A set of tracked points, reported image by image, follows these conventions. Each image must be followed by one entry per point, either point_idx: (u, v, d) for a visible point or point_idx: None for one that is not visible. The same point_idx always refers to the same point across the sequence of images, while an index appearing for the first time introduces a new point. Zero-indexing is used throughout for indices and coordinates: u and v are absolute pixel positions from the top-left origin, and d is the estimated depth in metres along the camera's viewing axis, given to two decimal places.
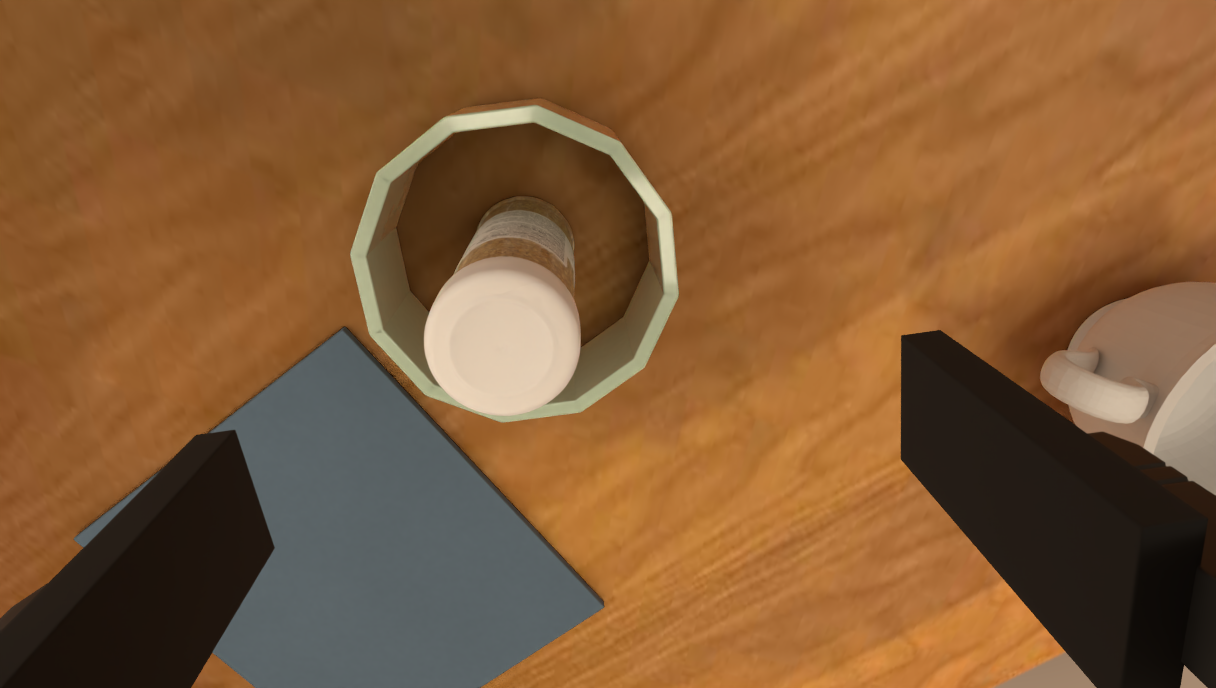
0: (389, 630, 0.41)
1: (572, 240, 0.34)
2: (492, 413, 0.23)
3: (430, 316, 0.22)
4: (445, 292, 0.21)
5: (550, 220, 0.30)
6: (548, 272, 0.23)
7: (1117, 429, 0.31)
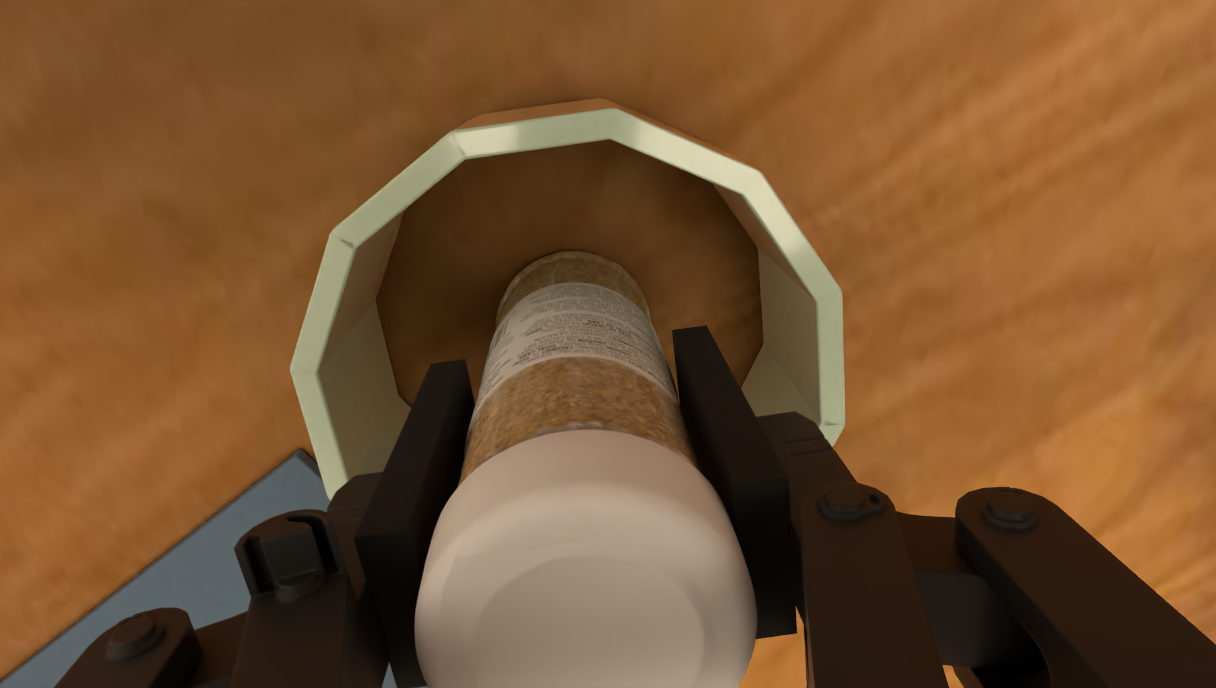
0: None
1: (649, 318, 0.22)
2: None
3: (428, 588, 0.09)
4: (462, 535, 0.09)
5: (625, 298, 0.18)
6: (680, 463, 0.11)
7: None
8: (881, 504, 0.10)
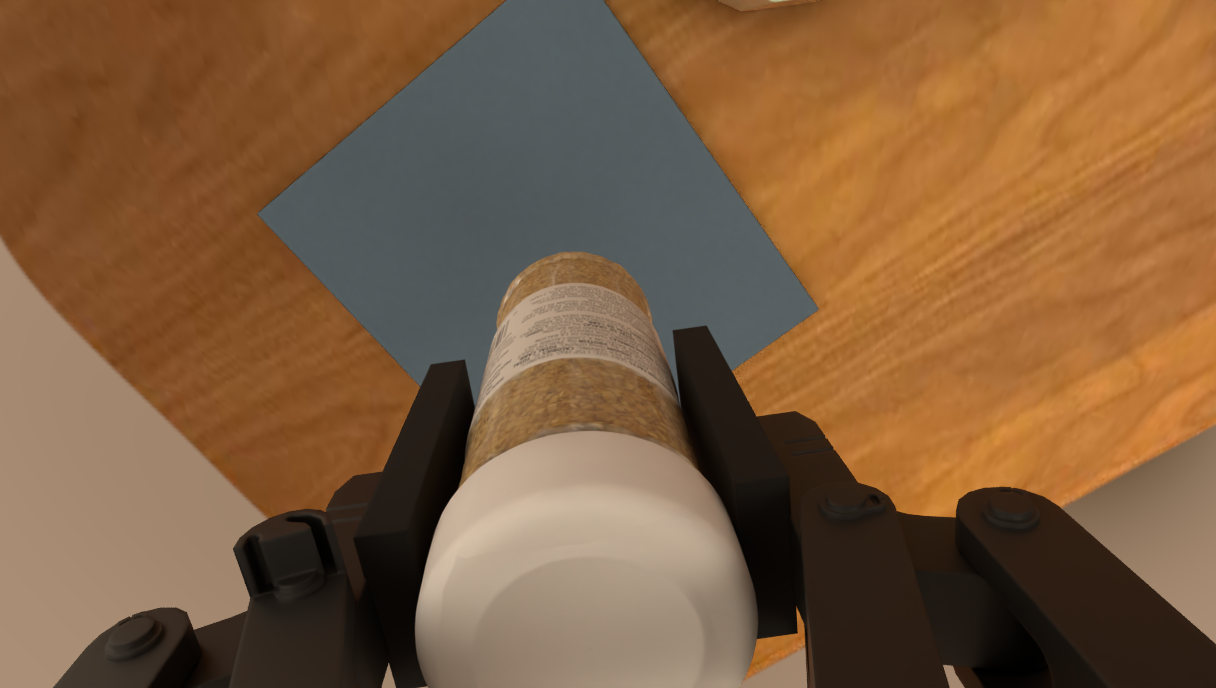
0: None
1: (650, 319, 0.22)
2: None
3: (428, 590, 0.09)
4: (463, 537, 0.09)
5: (626, 299, 0.18)
6: (680, 465, 0.11)
7: None
8: (882, 504, 0.10)
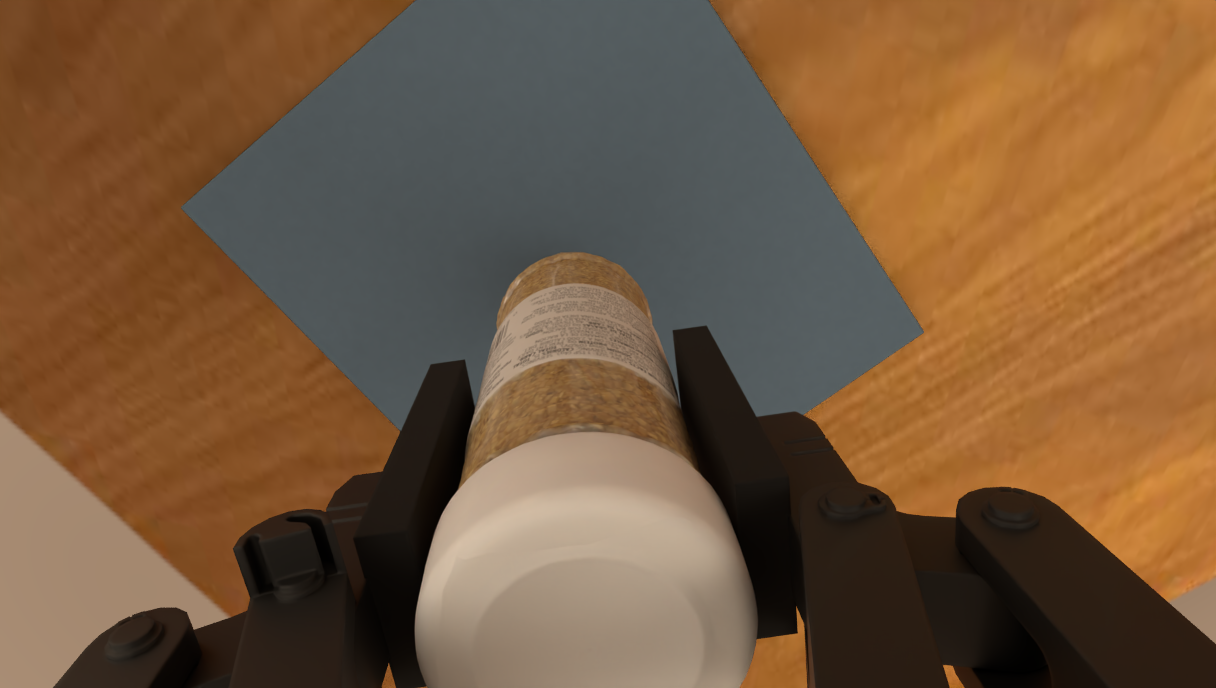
0: None
1: (650, 319, 0.22)
2: None
3: (428, 591, 0.09)
4: (462, 538, 0.09)
5: (626, 299, 0.18)
6: (680, 466, 0.11)
7: None
8: (882, 504, 0.10)
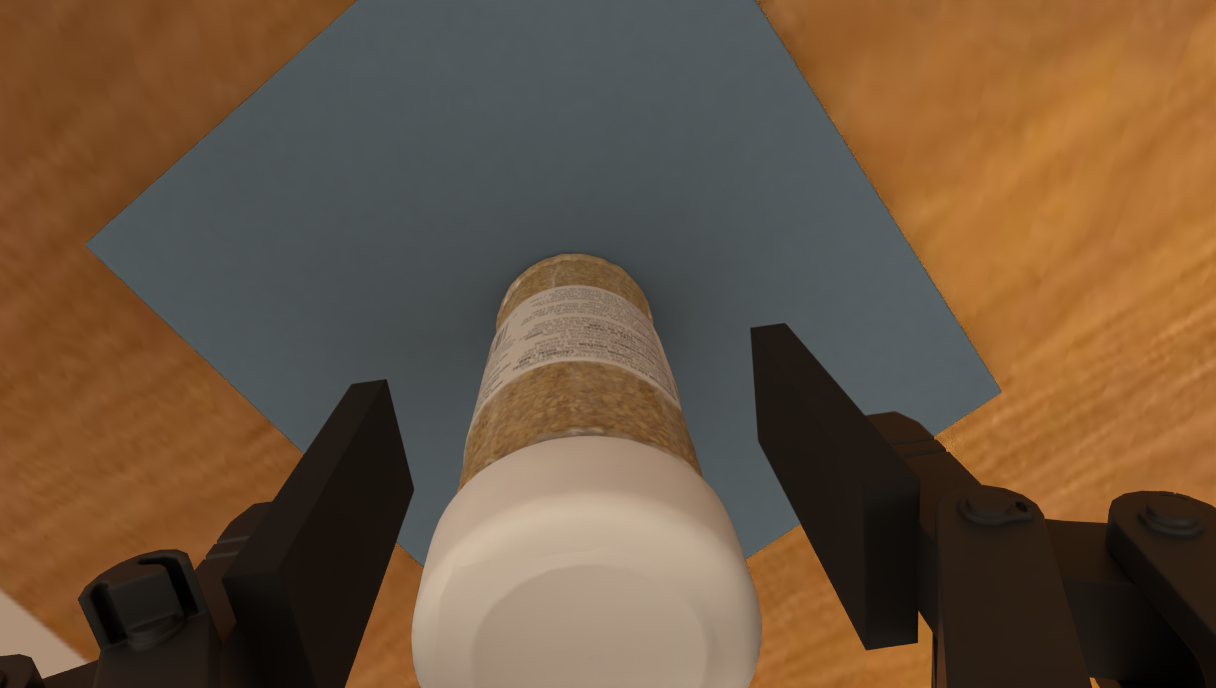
0: None
1: (650, 321, 0.21)
2: None
3: (425, 598, 0.09)
4: (460, 545, 0.09)
5: (627, 301, 0.18)
6: (682, 471, 0.10)
7: None
8: (1029, 512, 0.09)
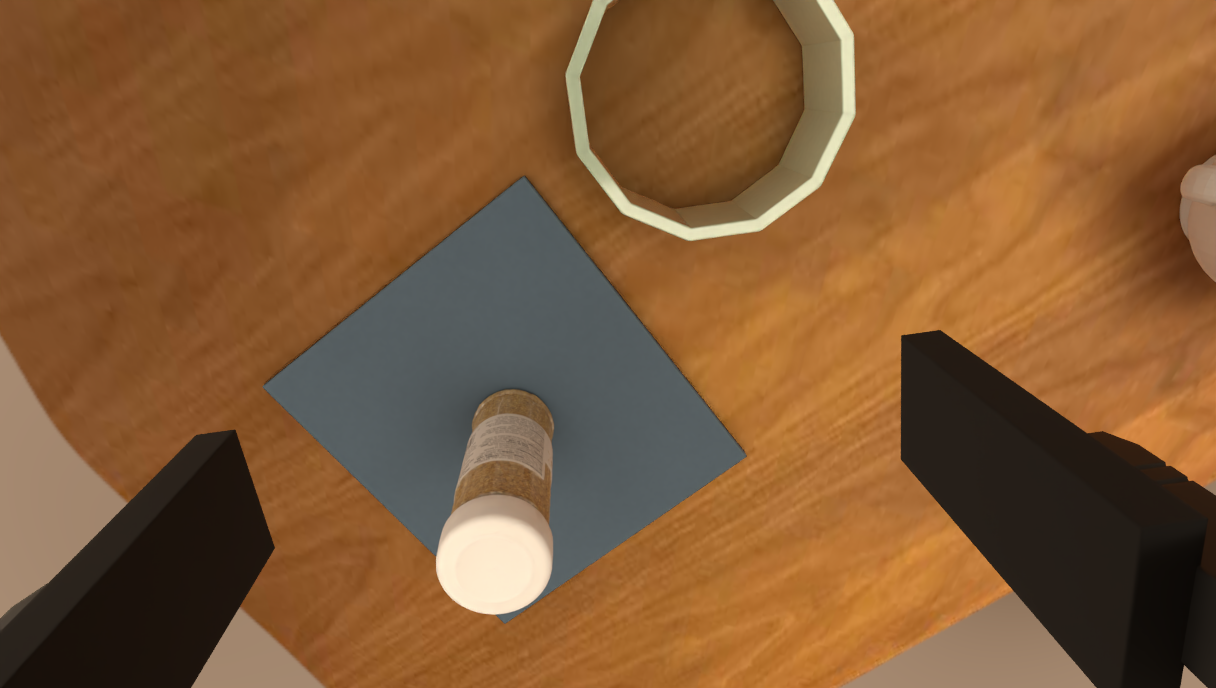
0: None
1: (552, 423, 0.42)
2: (487, 613, 0.30)
3: (440, 548, 0.29)
4: (451, 531, 0.29)
5: (532, 421, 0.38)
6: (528, 506, 0.30)
7: None
8: None
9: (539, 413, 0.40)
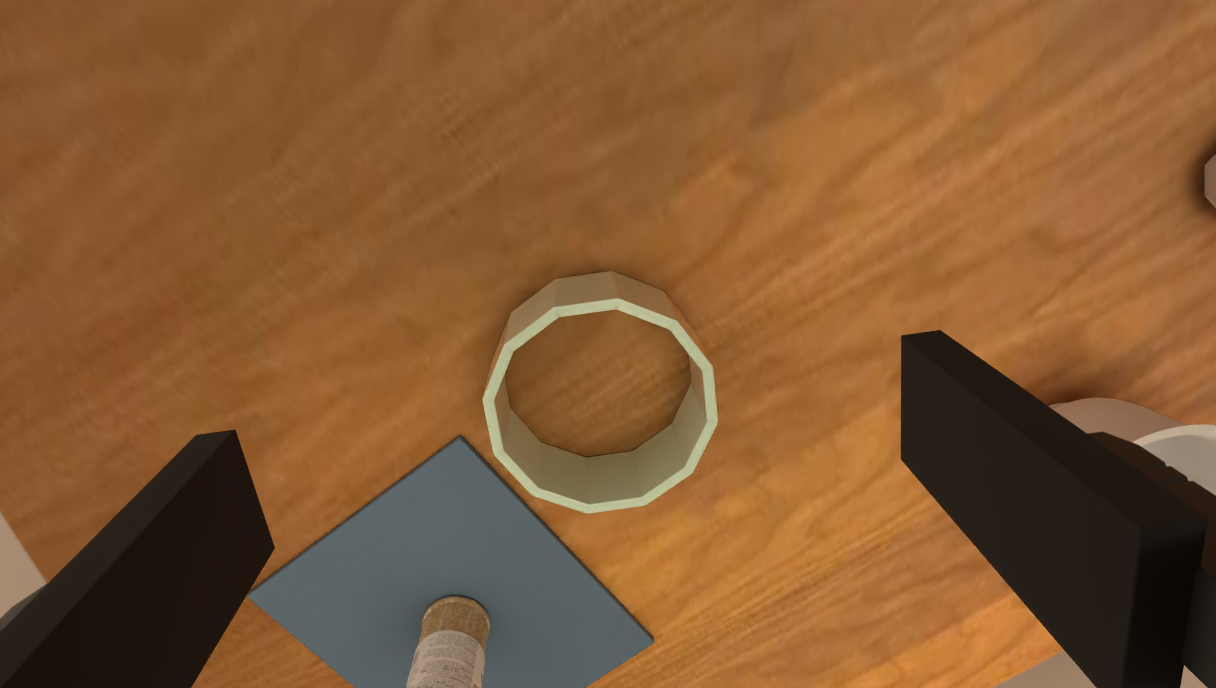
0: (486, 663, 0.52)
1: (488, 623, 0.50)
2: None
3: None
4: None
5: (467, 636, 0.47)
6: None
7: None
8: None
9: (475, 621, 0.48)
